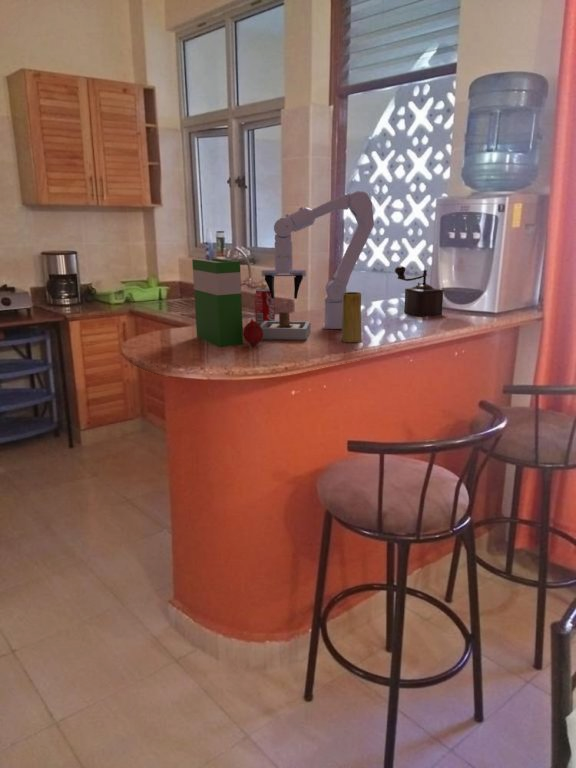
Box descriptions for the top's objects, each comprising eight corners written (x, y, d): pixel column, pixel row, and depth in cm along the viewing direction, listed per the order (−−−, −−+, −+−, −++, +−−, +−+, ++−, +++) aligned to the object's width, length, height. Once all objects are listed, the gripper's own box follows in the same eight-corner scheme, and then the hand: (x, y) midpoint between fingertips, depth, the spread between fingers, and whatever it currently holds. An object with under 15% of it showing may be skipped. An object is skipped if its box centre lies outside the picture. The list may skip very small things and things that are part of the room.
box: (310, 332, 183) (310, 321, 182) (306, 340, 170) (306, 328, 169) (264, 331, 185) (264, 320, 184) (257, 340, 172) (256, 328, 171)
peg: (290, 333, 179) (290, 311, 177) (288, 335, 176) (288, 313, 174) (280, 333, 179) (279, 311, 177) (278, 335, 176) (278, 313, 174)
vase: (348, 344, 165) (349, 295, 161) (337, 340, 170) (337, 292, 166) (365, 341, 168) (366, 293, 164) (354, 338, 173) (354, 291, 169)
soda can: (276, 322, 202) (275, 288, 198) (273, 325, 195) (273, 290, 192) (256, 322, 202) (255, 288, 199) (253, 325, 196) (252, 290, 192)
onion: (266, 344, 166) (265, 317, 164) (259, 348, 161) (258, 320, 158) (248, 343, 168) (247, 316, 165) (240, 347, 162) (239, 320, 160)
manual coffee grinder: (424, 310, 221) (427, 264, 216) (442, 314, 211) (445, 266, 206) (391, 314, 215) (392, 265, 210) (407, 318, 205) (410, 268, 200)
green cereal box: (197, 337, 178) (192, 259, 171) (218, 334, 181) (214, 258, 175) (220, 347, 163) (216, 262, 157) (243, 344, 167) (240, 261, 160)
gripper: (259, 257, 182) (260, 299, 185) (304, 257, 180) (304, 300, 183) (263, 256, 188) (264, 297, 192) (306, 255, 186) (306, 297, 190)
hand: (284, 298), depth 188 cm, fingers open, 7 cm apart
